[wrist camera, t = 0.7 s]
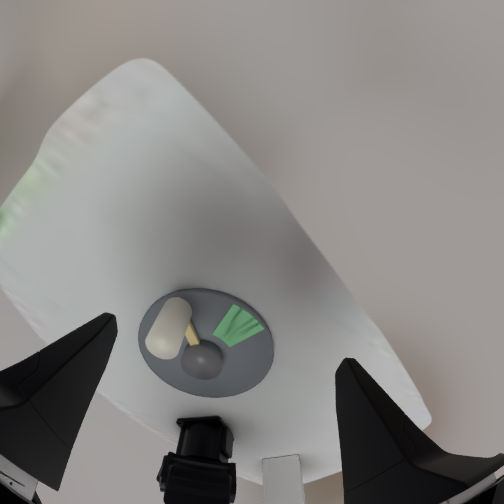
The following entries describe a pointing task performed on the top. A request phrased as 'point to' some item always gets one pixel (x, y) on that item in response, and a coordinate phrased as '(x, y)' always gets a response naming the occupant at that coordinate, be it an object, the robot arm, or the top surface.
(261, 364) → the grey round disc
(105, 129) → the top surface
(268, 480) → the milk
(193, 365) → the peg
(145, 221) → the top surface
